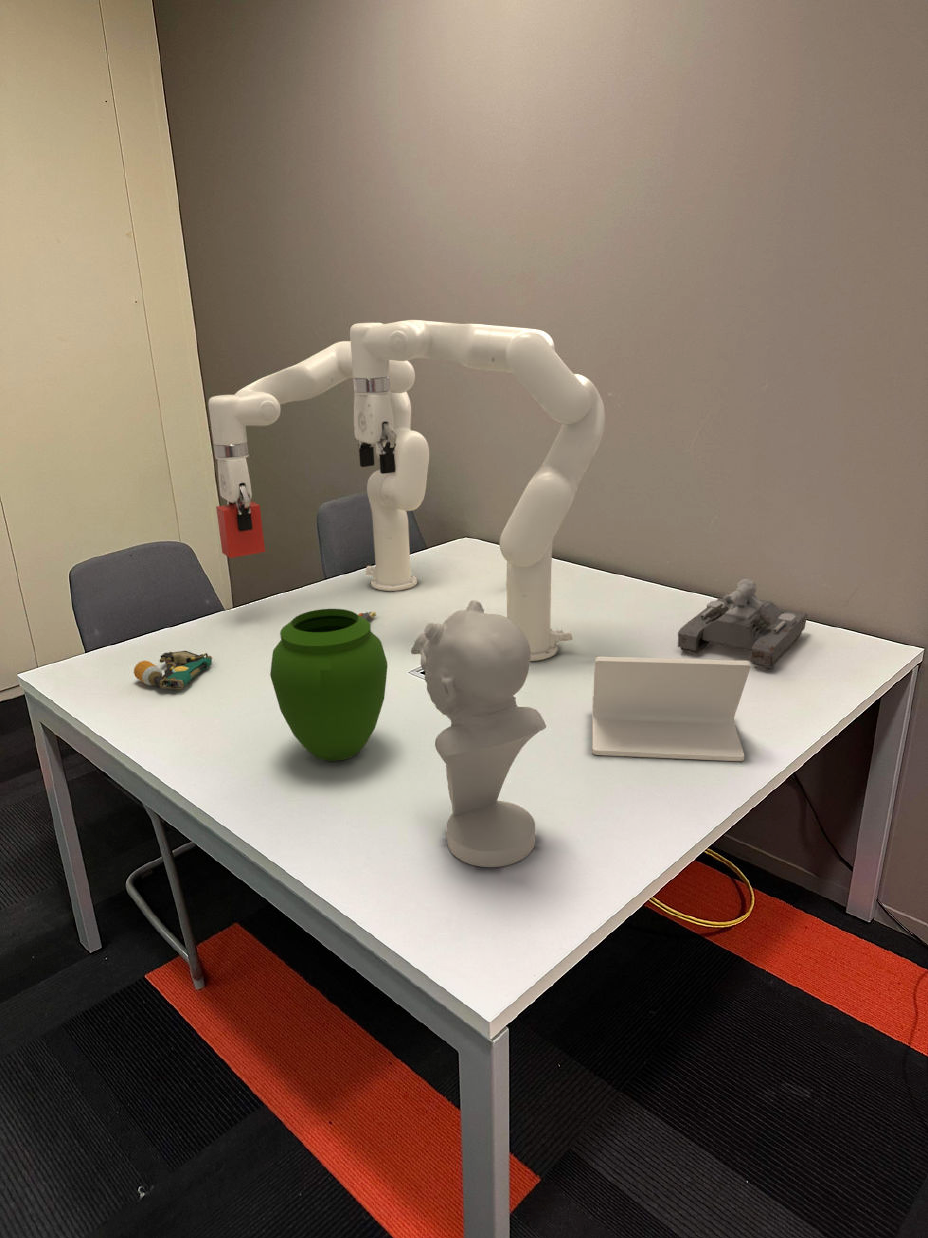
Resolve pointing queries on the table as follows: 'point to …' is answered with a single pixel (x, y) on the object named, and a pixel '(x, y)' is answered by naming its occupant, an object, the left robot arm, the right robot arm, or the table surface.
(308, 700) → the vase
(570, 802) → the table surface
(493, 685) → the bust sculpture
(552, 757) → the table surface
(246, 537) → the block
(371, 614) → the toy gun
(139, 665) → the spray gun
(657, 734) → the tablet stand
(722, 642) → the toy
